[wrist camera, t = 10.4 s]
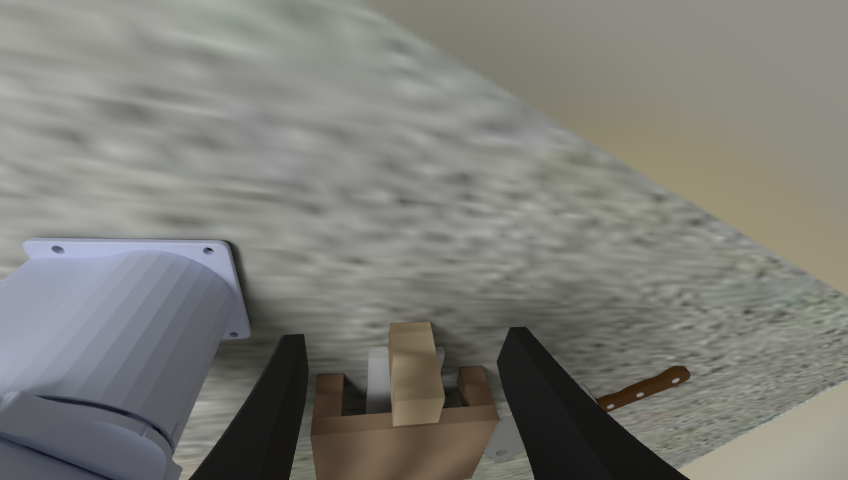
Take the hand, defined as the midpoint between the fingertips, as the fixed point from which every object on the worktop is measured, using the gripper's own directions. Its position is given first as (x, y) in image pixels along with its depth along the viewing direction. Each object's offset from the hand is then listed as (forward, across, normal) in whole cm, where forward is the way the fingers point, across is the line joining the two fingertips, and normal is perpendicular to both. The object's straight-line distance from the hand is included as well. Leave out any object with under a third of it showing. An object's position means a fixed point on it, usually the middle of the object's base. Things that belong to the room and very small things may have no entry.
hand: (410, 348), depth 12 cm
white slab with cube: (+9, -2, +18) cm, 20 cm away
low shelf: (+9, -2, +21) cm, 23 cm away
